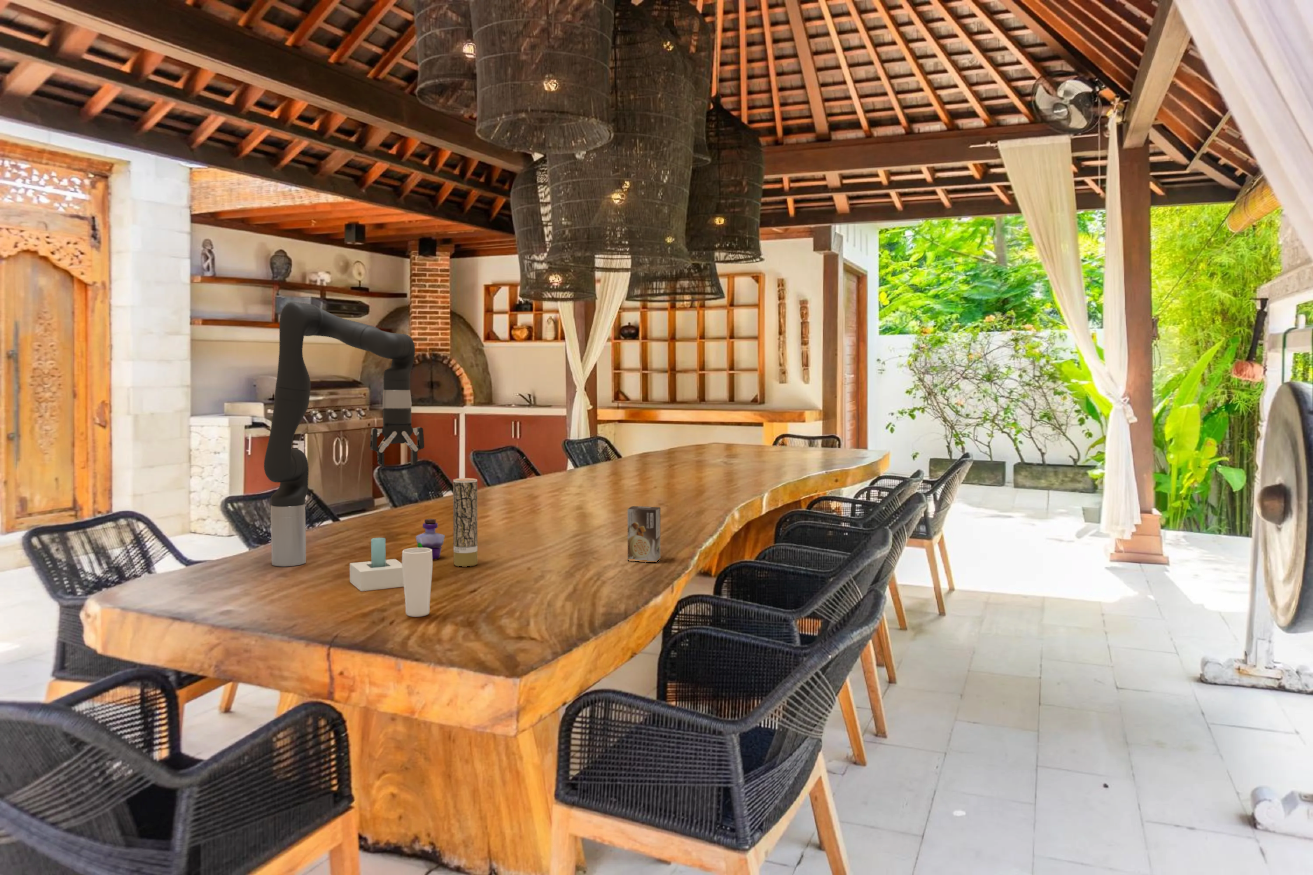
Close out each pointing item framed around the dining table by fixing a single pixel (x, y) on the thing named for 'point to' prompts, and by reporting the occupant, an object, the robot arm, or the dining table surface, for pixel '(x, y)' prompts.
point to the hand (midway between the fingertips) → (397, 465)
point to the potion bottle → (431, 538)
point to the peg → (378, 552)
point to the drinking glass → (417, 580)
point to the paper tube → (465, 521)
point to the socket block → (376, 575)
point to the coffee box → (644, 533)
